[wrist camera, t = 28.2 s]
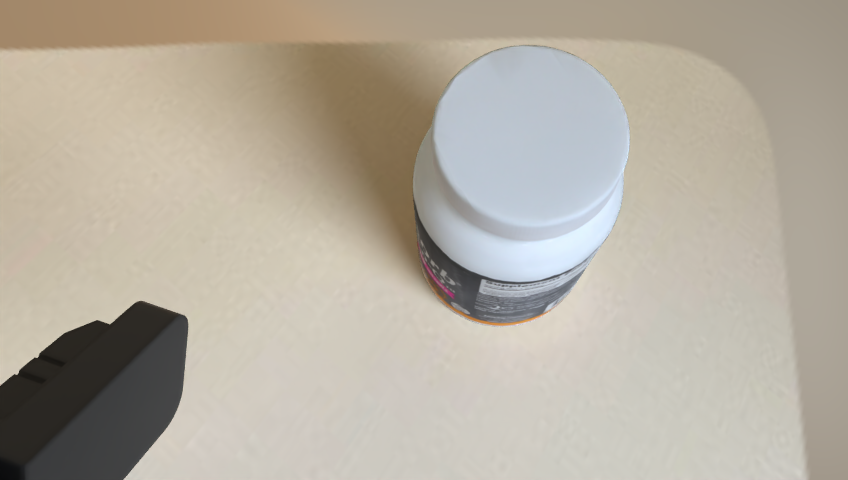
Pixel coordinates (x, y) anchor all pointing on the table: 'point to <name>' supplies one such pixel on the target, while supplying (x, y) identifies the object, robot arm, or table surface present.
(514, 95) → the pill bottle
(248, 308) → the table surface
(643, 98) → the table surface
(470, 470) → the table surface
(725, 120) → the table surface
